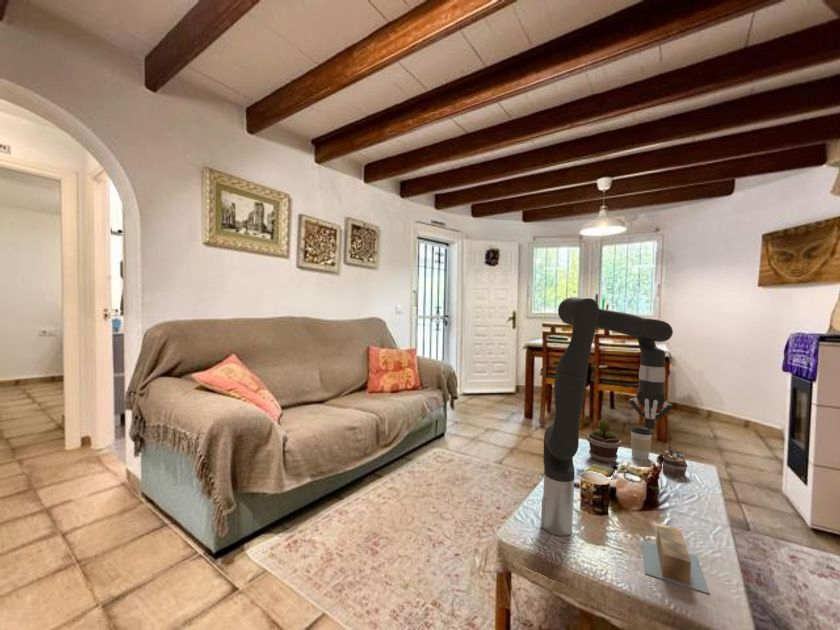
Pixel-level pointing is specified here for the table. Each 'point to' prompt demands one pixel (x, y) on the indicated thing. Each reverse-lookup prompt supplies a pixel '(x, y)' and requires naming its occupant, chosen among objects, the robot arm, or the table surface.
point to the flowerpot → (603, 443)
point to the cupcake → (674, 463)
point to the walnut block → (673, 554)
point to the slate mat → (654, 570)
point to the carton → (601, 470)
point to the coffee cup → (640, 442)
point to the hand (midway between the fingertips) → (649, 428)
